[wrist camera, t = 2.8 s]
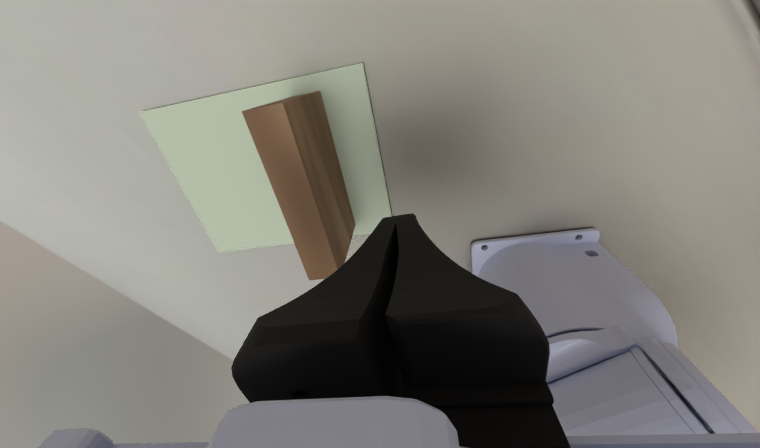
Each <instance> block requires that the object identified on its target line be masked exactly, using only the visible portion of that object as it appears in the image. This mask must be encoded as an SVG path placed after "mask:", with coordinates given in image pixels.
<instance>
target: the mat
mask: <svg viewBox="0 0 760 448" xmlns="http://www.w3.org/2000/svg"><path fill="white" fill-rule="evenodd" d="M316 91H320V92H321V96H322V100H323V103H324V107H325V111H326V115H327V118H328V122H329V126H330V130H331V134H332V137H333V141H334V145H335V149H336V152H337V156H338V160H339V164H340V168H341V171H342V175H343V179H344V183H345V187H346V190H347V194H348V198H349V202H350V205H351V209H352V213H353V217H354V221H355V224H356V225H355V229H354V232H353V235H352V236H356V235H364V234H371V233H372V232H373V230H374V229H375V228H376V226H377V225H378V224H379V222H380V221H381V220H382V218H385V217H392V213H391V208H390V203H389V197H388V192H387V187H386V181H385V176H384V171H383V165H382V160H381V155H380V150H379V144H378V139H377V134H376V128H375V123H374V118H373V112H372V107H371V102H370V96H369V91H368V86H367V80H366V75H365V70H364V65H363V63H359V64H355V65H350V66H346V67H341V68H337V69H332V70H328V71H323V72H319V73H314V74H310V75H305V76H301V77H296V78H292V79H287V80H283V81H278V82H273V83H269V84H264V85H260V86H255V87H251V88H246V89H242V90H237V91H233V92H228V93H224V94H219V95H215V96H210V97H206V98H201V99H197V100H192V101H187V102H183V103H178V104H174V105H169V106H165V107H160V108H156V109H151V110H147V111H142V112H139V114H140V116H141V117H142V119H143V121H144V123H145V124H146V126H147V128H148V130H149V131H150V133H151V135H152V137H153V139H154V140H155V142H156V144H157V146H158V147H159V149H160V151H161V153H162V154H163V156H164V158H165V160H166V161H167V163H168V165H169V167H170V168H171V170H172V172H173V174H174V175H175V177H176V179H177V181H178V182H179V184H180V186H181V188H182V189H183V191H184V193H185V195H186V196H187V198H188V200H189V202H190V203H191V205H192V207H193V209H194V210H195V212H196V214H197V216H198V217H199V219H200V221H201V223H202V224H203V226H204V228H205V230H206V231H207V233H208V235H209V237H210V238H211V240H212V242H213V244H214V245H215V247H216V249H217V251H218V252H226V251H234V250H242V249H250V248H258V247H267V246H275V245H283V244H291V243H294V241H293V238H292V236H291V233H290V231H289V228H288V226H287V223H286V221H285V218H284V216H283V213H282V211H281V208H280V206H279V203H278V201H277V198H276V196H275V193H274V191H273V188H272V186H271V183H270V181H269V178H268V176H267V173H266V171H265V169H264V166H263V164H262V161H261V159H260V156H259V154H258V151H257V149H256V146H255V144H254V141H253V139H252V136H251V134H250V131H249V129H248V126H247V124H246V121H245V119H244V116H243V114H242V111H244V110H248V109H251V108H254V107H258V106H261V105H265V104H268V103H272V102H275V101H278V100H282V99H285V98H289V97H293V96H297V95H302V94H307V93H312V92H316Z"/></svg>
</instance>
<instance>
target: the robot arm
mask: <svg viewBox="0 0 760 448" xmlns="http://www.w3.org/2000/svg"><path fill="white" fill-rule="evenodd" d="M577 235H579V236H578V237H576V236H577ZM575 237H576V238H575ZM599 237H600V232H599V231H598V230H597V229H595V228H589V229H580V230H571V231H562V232H553V233H544V234H535V235H526V236H517V237H508V238H499V239H490V240H482V241H475V242H473V243H472V245H471V264H472V273H470V272H469V271H467V270H465V269H464V268H462V267H461V266H459V265H458V264H456V263H455V262H454V261H452V260H451V259H450V258H449V257H447V256H446V255H445V254H444V253H443V252H442V251H441V250H440V249H439V248H438V247H437V246H436V245H435V244H434V243H433V242H432V241H431V240H430V239H429V237H428V236H427V235H426V234H425V232H424V231H423V230H422V228H421V227H420V225H419V223H418V221H417V219H416V216H415V215H414V214H413V213H412V214H405V215H399V216H392V217H385V218H382V220H381V221H380V222H379V224H378V225H377V226H376V228H375V229H374V230H373V232H372V233H371V235H370V236H369V237H368V238H367V240H366V241H365V242H364V243H363V245H362V246H361V247H360V248H359V249H358V250H357V251H356V252H355V254H354V255H353V256H352V257H351V258H350V259H349V260H348V261H347V262H346V263H344V264H343V265H342V266H341V267H340V268H339V269H338V270H336V271H335V272H334V273H333V274H331V275H330V276H329V277H327V278H326V279H325V280H323V281H322V282H321V283H319V284H318V285H317V286H315V287H314V288H312V289H311V290H309V291H307V292H306V293H304V294H303V295H301V296H299V297H298V298H296V299H294V300H292V301H291V302H289V303H287V304H285V305H283V306H281V307H279V308H277V309H275V310H273V311H271V312H269V313H267V314H265V315H263V316H261V317H259V318H258V319H257V321H256V322H255V324H254V326H253V327H252V329H251V331H250V333H249V334H248V336H247V338H246V340H245V341H244V343H243V345H242V347H241V348H240V350H239V352H238V354H237V356H236V357H235V359H234V362H233V365H232V375H233V378H234V380H235V382H236V384H237V386H238V387H239V389H240V390H241V391H242V393H243V394H244V395H245V397H246V398H247V399H248V400H249V402H250V403H248V404H244V405H239V406H236V407H234V408H232V409H230V410H228V412H227V413H226V414H225V416H224V417H223V418H222V420H221V421H220V423H219V425H218V426H217V428H216V430H215V432H214V434H213V437H212V439H211V440H210V442H179V443H178V442H174V443H118V444H117V443H116V444H115V443H113V441H112V440H111V439H110V438H109V437H108V436H106V435H105V434H103V433H101V432H100V431H97V430H94V429H88V428H78V429H58V430H55V431H53V432H52V433H51V434H50V435H49V436H48V437H47V438H46V440H45V441H44V442H43V443H42V444H41V445H40V446H39V447H38V448H760V433H759V432H758V431H757V430H756V429H755V428H754V427H753V426H752V425H751V424H750V423H749V422H748V421H747V420H746V419H745V418H744V417H743V416H742V414H741V413H740V412H739V411H738V410H737V409H736V408H735V407H734V406H733V405H732V404H731V403H730V402H729V401H728V400H727V399H726V398H725V397H724V396H723V395H722V394H721V392H720V391H719V390H718V389H717V388H716V387H715V386H714V385H713V384H712V383H711V382H710V381H709V380H708V379H707V378H706V377H705V376H704V375H703V374H702V373H701V372H700V371H699V370H698V369H697V368H696V367H695V366H694V365H693V364H692V362H691V361H690V360H689V359H688V358H687V357H686V356H685V355H684V354H683V353H682V352H681V351H680V350H679V349H678V337H677V332H676V329H675V326H674V323H673V321H672V319H671V317H670V315H669V313H668V311H667V309H666V308H665V306H664V305H663V303H662V302H661V300H660V299H659V298H658V297H657V295H656V294H655V293H654V292H653V291H652V290H651V289H650V288H649V287H648V286H647V285H645V284H644V283H643V282H642V281H641V280H640V279H639V278H638V277H637V276H636V275H634V274H633V273H632V272H631V271H630V270H629V269H628V268H627V267H626V266H625V265H623V264H622V263H621V262H620V261H619V260H618V259H617V258H616V257H615V256H614V255H612V254H611V253H610V252H609V251H608V250H607V249H606V248H605V247H604V246H603V245H602V244H600V243H599V242H598V241H599ZM483 245H486V247H484V248H482V246H483Z"/></svg>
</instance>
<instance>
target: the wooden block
mask: <svg viewBox="0 0 760 448" xmlns="http://www.w3.org/2000/svg"><path fill="white" fill-rule="evenodd" d="M242 114H243V116H244V119H245V121H246V124H247V126H248V129H249V131H250V134H251V136H252V139H253V141H254V144H255V146H256V149H257V151H258V154H259V156H260V159H261V161H262V164H263V166H264V169H265V171H266V173H267V176H268V178H269V181H270V183H271V186H272V188H273V191H274V193H275V196H276V198H277V201H278V203H279V206H280V208H281V211H282V213H283V216H284V218H285V221H286V223H287V226H288V228H289V231H290V233H291V236H292V238H293V241H294V243H295V246H296V248H297V251H298V253H299V256H300V258H301V261H302V263H303V266H304V268H305V271H306V273H307V276H308V278H309V280H317V279H326V278H327V277H329V276H330V275H331V274H333V273H334V272H335V271H336V270H338V269H339V268H340V267H341V266H342V265H343V264H344V262H345V259H346V256H347V252H348V249H349V246H350V242H351V239H352V235H353V232H354V229H355V225H356V224H355V221H354V217H353V213H352V209H351V205H350V202H349V198H348V194H347V190H346V187H345V183H344V179H343V175H342V171H341V168H340V164H339V160H338V156H337V152H336V149H335V145H334V141H333V137H332V134H331V130H330V126H329V122H328V118H327V115H326V111H325V107H324V103H323V100H322V96H321V92H320V91H316V92H312V93H307V94H302V95H297V96H293V97H289V98H285V99H282V100H278V101H275V102H272V103H268V104H265V105H261V106H258V107H254V108H251V109H248V110H244V111H242Z"/></svg>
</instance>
